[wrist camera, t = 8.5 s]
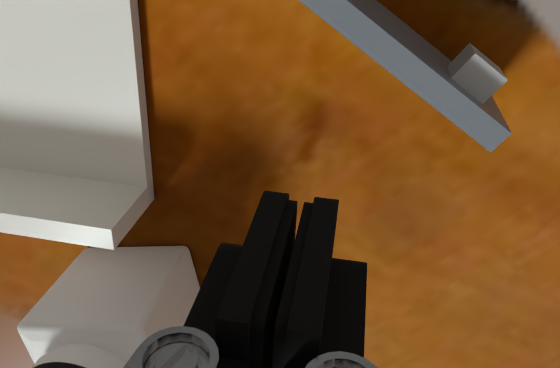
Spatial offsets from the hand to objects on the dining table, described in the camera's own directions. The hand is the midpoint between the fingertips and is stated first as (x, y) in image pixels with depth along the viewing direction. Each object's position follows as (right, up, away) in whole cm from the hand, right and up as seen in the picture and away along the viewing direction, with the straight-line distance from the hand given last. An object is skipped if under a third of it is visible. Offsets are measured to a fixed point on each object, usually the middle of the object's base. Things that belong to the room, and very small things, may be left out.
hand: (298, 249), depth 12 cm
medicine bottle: (-9, -5, +21) cm, 24 cm away
